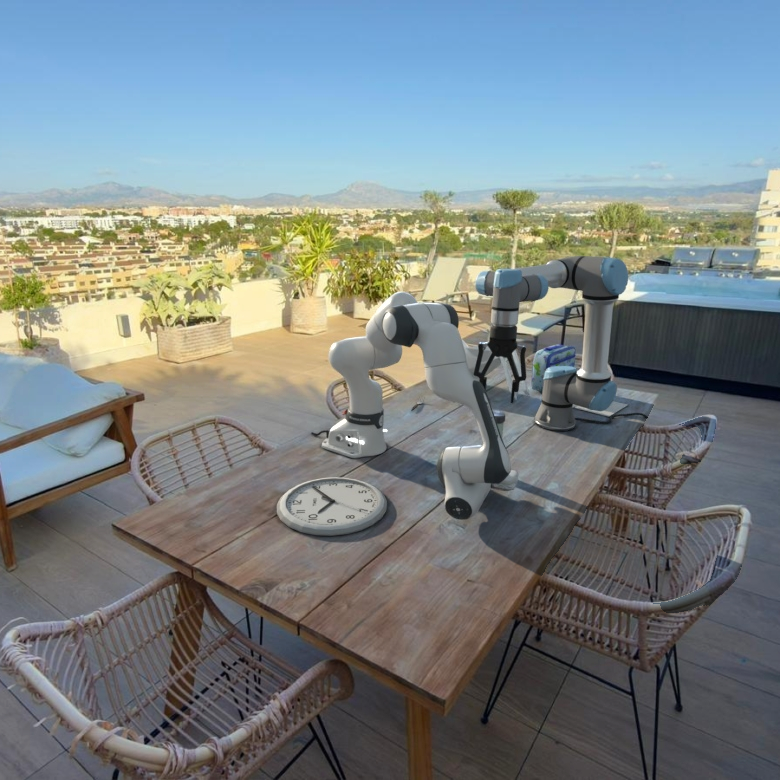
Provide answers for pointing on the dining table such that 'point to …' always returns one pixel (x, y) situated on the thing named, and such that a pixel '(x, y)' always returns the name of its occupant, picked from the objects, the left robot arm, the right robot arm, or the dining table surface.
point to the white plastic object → (492, 365)
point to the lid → (499, 416)
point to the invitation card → (609, 411)
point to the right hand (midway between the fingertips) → (497, 400)
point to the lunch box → (550, 362)
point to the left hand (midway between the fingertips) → (487, 463)
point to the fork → (418, 403)
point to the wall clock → (331, 506)
